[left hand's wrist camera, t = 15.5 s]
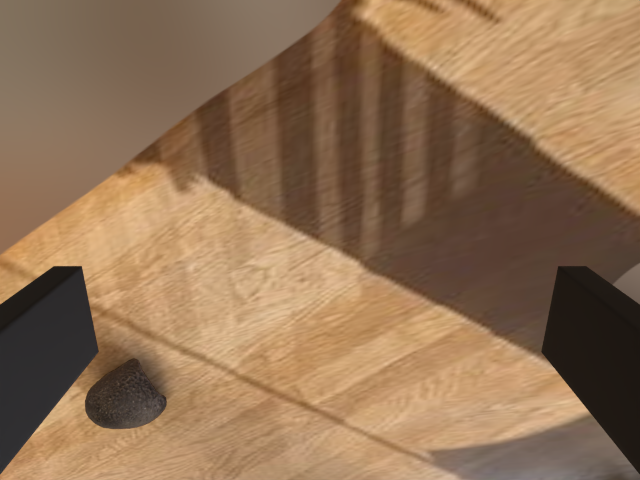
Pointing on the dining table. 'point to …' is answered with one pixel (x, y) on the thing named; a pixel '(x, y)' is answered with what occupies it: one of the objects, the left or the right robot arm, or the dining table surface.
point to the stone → (124, 399)
